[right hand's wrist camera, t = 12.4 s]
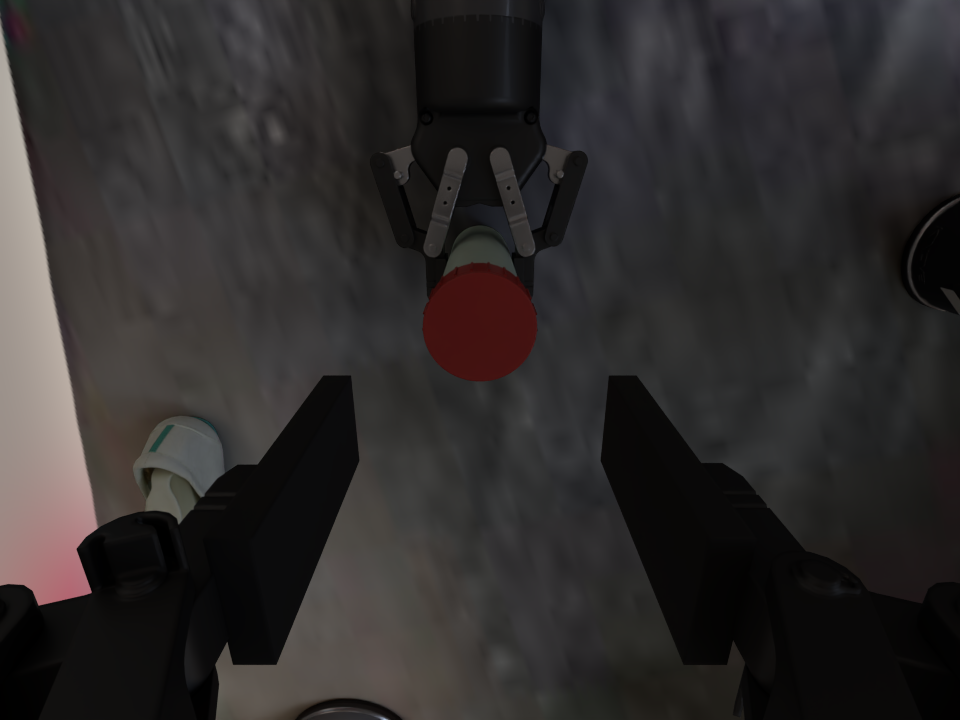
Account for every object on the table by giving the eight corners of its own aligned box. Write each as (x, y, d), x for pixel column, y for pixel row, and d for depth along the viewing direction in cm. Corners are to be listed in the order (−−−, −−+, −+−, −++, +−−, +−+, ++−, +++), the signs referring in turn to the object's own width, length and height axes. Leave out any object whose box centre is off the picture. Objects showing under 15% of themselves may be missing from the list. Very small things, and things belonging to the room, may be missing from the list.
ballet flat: (202, 615, 54) (159, 685, 47) (137, 409, 46) (71, 457, 38) (280, 612, 54) (249, 682, 47) (230, 406, 45) (181, 453, 38)
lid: (553, 328, 25) (560, 344, 23) (466, 382, 26) (464, 402, 24) (495, 238, 23) (497, 246, 21) (404, 300, 24) (397, 314, 22)
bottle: (518, 261, 41) (549, 339, 23) (472, 292, 42) (466, 390, 24) (487, 213, 40) (494, 255, 22) (440, 246, 41) (408, 313, 22)
